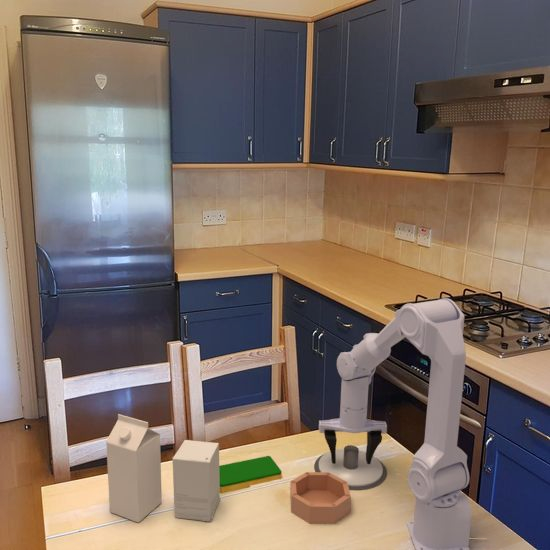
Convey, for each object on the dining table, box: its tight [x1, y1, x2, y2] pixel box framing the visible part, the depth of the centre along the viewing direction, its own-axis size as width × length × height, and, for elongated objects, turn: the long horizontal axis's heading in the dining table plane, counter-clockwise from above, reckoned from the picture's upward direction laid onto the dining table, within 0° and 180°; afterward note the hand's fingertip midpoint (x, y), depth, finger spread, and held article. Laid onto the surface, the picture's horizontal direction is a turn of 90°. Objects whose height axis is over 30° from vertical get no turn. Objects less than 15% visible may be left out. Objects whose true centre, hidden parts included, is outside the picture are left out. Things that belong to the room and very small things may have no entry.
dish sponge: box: [219, 455, 283, 494], centre depth 119 cm, size 7×14×2 cm, turn 113°
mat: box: [313, 452, 388, 491], centre depth 123 cm, size 16×16×1 cm
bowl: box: [289, 471, 352, 525], centre depth 109 cm, size 12×12×4 cm
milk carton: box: [105, 413, 163, 523], centre depth 106 cm, size 7×7×19 cm
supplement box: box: [171, 439, 221, 522], centre depth 107 cm, size 7×7×13 cm
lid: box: [319, 444, 383, 487], centre depth 122 cm, size 14×14×5 cm
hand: (350, 461), depth 122 cm, fingers open, 7 cm apart
